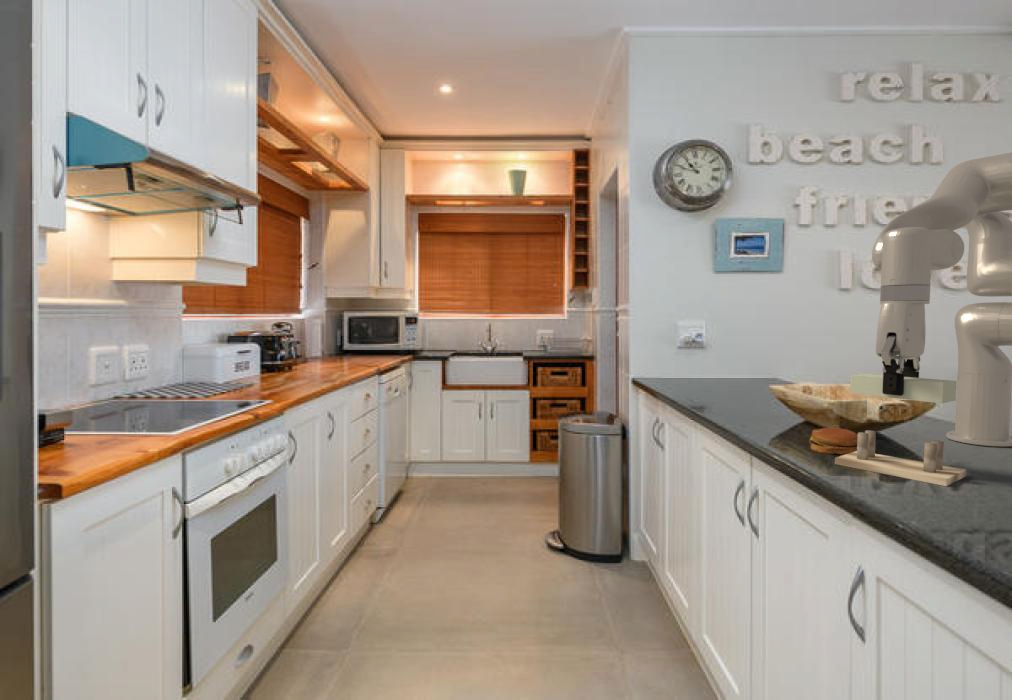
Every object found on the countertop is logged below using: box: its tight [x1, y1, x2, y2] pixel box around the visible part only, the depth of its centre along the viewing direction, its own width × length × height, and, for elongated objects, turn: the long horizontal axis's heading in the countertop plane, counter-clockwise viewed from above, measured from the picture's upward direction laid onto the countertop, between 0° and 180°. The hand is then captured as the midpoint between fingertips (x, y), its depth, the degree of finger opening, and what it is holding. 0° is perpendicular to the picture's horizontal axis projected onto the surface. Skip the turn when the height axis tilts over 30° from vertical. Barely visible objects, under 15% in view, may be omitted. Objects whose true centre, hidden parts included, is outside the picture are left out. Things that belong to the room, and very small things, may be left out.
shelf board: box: [849, 373, 957, 404], centre depth 106 cm, size 6×15×4 cm, turn 34°
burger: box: [809, 427, 858, 456], centre depth 122 cm, size 10×9×5 cm
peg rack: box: [834, 429, 967, 487], centre depth 107 cm, size 10×18×6 cm, turn 36°
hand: (900, 392), depth 106 cm, fingers closed on shelf board, 6 cm apart
